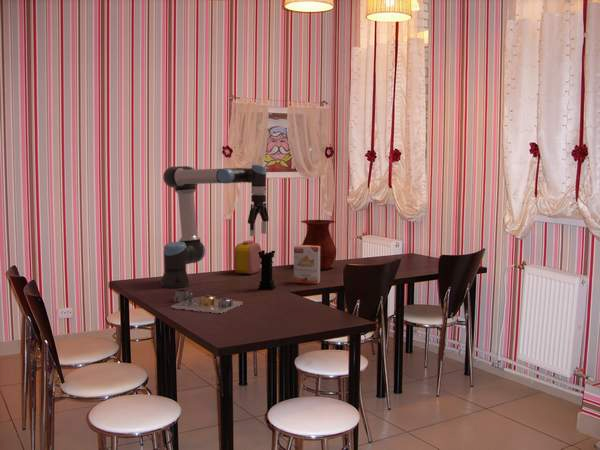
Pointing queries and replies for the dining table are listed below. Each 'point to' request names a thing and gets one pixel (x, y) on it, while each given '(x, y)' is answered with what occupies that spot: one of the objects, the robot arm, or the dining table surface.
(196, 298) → the carrier
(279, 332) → the dining table surface
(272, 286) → the chess piece
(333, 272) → the dining table surface
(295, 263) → the cracker box
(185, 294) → the gear
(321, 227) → the vase
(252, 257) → the lunch box
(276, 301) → the dining table surface
